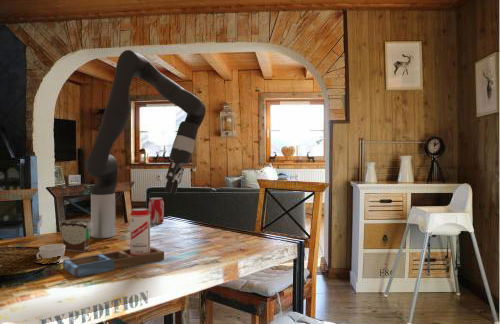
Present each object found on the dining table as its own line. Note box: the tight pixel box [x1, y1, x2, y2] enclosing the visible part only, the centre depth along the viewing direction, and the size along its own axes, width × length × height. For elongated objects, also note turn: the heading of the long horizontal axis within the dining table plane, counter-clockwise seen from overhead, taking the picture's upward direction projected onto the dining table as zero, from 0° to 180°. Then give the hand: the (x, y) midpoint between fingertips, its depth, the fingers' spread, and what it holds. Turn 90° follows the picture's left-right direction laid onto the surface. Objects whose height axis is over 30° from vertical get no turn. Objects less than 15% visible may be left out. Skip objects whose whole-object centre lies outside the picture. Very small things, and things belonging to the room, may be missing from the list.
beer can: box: [129, 207, 151, 256], centre depth 127 cm, size 6×6×16 cm
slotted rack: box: [62, 245, 165, 278], centre depth 121 cm, size 11×27×3 cm, turn 131°
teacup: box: [36, 243, 71, 264], centre depth 125 cm, size 10×10×5 cm
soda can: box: [148, 196, 165, 225], centre depth 189 cm, size 7×7×12 cm
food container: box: [59, 218, 93, 253], centre depth 140 cm, size 12×6×10 cm, turn 71°
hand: (169, 192), depth 142 cm, fingers open, 8 cm apart
